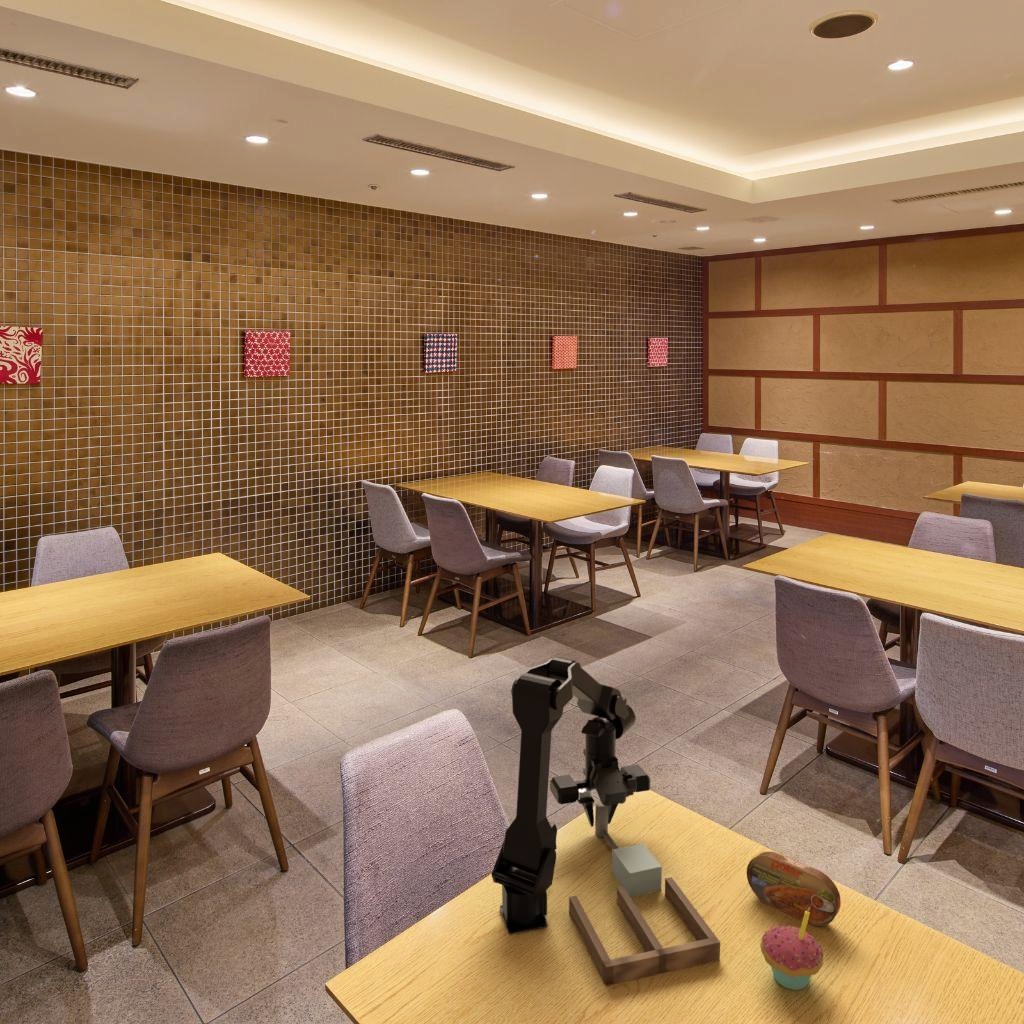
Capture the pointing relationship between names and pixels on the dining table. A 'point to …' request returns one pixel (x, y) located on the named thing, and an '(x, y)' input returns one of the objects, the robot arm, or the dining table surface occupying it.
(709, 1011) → the dining table surface
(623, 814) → the dining table surface
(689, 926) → the lane rack
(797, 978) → the cupcake
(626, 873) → the grey block with handle
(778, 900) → the tin
